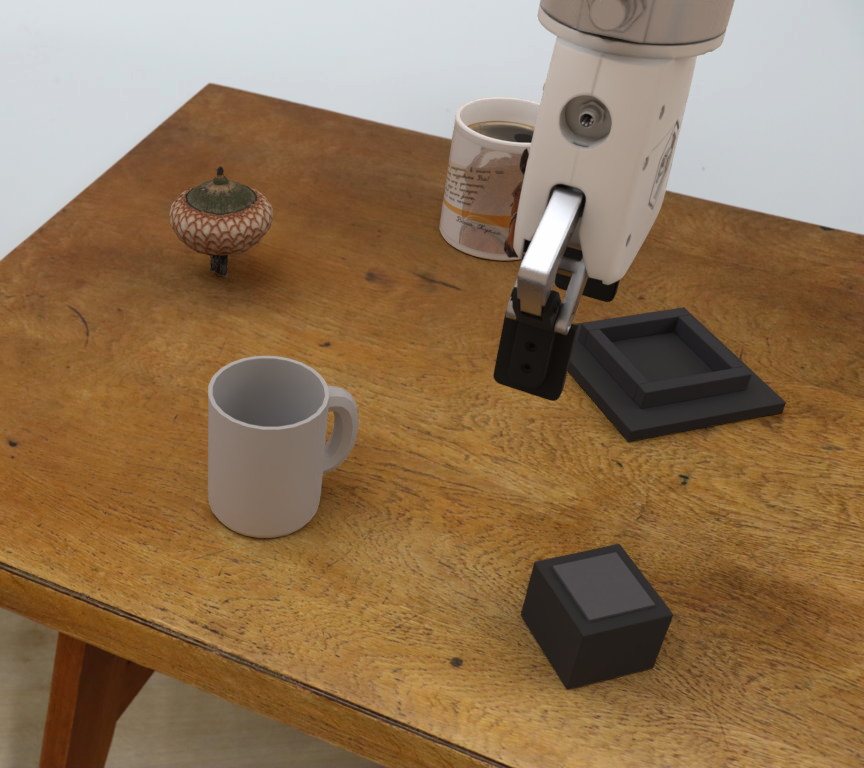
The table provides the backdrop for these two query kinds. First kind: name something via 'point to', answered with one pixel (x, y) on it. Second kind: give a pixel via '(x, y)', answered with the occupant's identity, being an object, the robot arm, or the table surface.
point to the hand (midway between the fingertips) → (556, 337)
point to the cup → (273, 443)
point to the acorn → (220, 219)
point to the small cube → (595, 615)
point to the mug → (487, 175)
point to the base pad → (665, 375)
